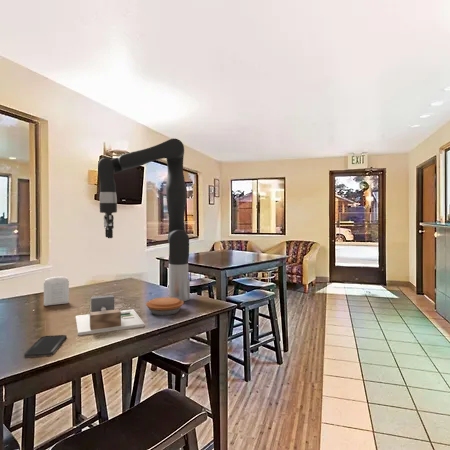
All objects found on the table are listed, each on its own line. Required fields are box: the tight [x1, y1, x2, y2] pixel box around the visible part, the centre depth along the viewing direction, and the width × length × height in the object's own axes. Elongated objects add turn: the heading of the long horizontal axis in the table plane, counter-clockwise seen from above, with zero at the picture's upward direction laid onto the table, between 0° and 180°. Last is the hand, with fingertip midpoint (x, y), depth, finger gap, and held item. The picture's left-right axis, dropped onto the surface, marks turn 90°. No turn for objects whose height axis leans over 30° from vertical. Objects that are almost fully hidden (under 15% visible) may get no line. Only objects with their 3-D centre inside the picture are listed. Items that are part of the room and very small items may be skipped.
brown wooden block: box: [89, 308, 122, 330], centre depth 120 cm, size 10×4×5 cm, turn 115°
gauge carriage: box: [90, 294, 130, 315], centre depth 128 cm, size 14×7×8 cm, turn 115°
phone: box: [23, 334, 67, 358], centre depth 104 cm, size 8×1×15 cm
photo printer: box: [43, 275, 70, 307], centre depth 154 cm, size 10×4×12 cm, turn 123°
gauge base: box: [75, 308, 145, 336], centre depth 128 cm, size 22×21×1 cm
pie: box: [145, 296, 185, 316], centre depth 143 cm, size 15×16×5 cm
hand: (109, 237), depth 157 cm, fingers open, 8 cm apart
